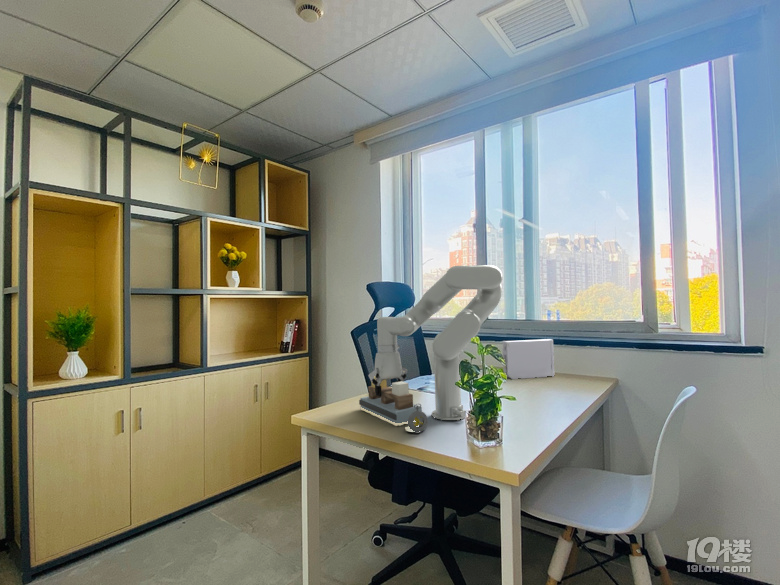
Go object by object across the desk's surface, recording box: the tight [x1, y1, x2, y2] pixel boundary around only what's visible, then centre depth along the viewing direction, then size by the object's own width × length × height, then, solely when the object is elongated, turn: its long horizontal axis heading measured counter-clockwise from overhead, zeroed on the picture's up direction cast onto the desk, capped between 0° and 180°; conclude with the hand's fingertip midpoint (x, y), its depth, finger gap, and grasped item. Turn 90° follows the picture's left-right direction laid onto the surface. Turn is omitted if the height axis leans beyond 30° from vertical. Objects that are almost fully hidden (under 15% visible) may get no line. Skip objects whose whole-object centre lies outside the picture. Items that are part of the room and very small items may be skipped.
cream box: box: [391, 381, 410, 396], centre depth 141 cm, size 4×4×4 cm
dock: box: [358, 395, 423, 423], centre depth 146 cm, size 26×12×5 cm, turn 33°
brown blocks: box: [368, 385, 414, 410], centre depth 147 cm, size 22×6×4 cm, turn 33°
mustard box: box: [370, 376, 388, 388], centre depth 153 cm, size 4×4×4 cm
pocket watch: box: [407, 403, 429, 432], centre depth 127 cm, size 8×8×10 cm
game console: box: [502, 338, 555, 380], centre depth 209 cm, size 6×27×20 cm, turn 98°
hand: (389, 393), depth 147 cm, fingers open, 9 cm apart
